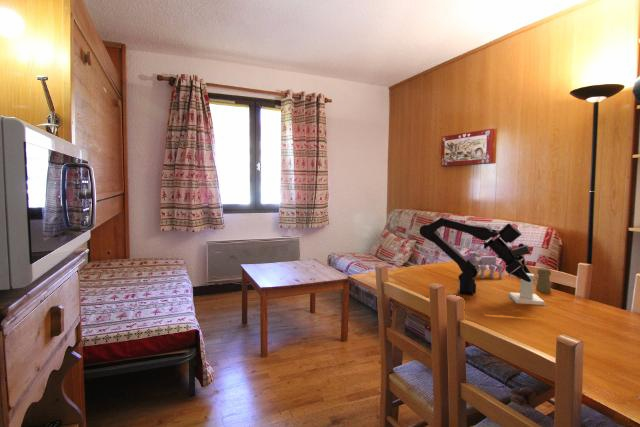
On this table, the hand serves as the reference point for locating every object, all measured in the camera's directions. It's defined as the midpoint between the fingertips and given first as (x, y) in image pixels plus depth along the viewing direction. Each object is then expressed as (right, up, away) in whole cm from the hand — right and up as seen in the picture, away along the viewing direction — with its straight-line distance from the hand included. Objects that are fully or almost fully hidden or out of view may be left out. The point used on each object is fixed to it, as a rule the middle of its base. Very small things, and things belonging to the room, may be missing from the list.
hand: (530, 278), depth 144 cm
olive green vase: (+14, -9, +14) cm, 22 cm away
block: (-1, -8, +1) cm, 8 cm away
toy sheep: (-1, -7, +42) cm, 43 cm away
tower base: (-1, -11, +2) cm, 11 cm away
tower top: (-1, -9, +1) cm, 9 cm away
